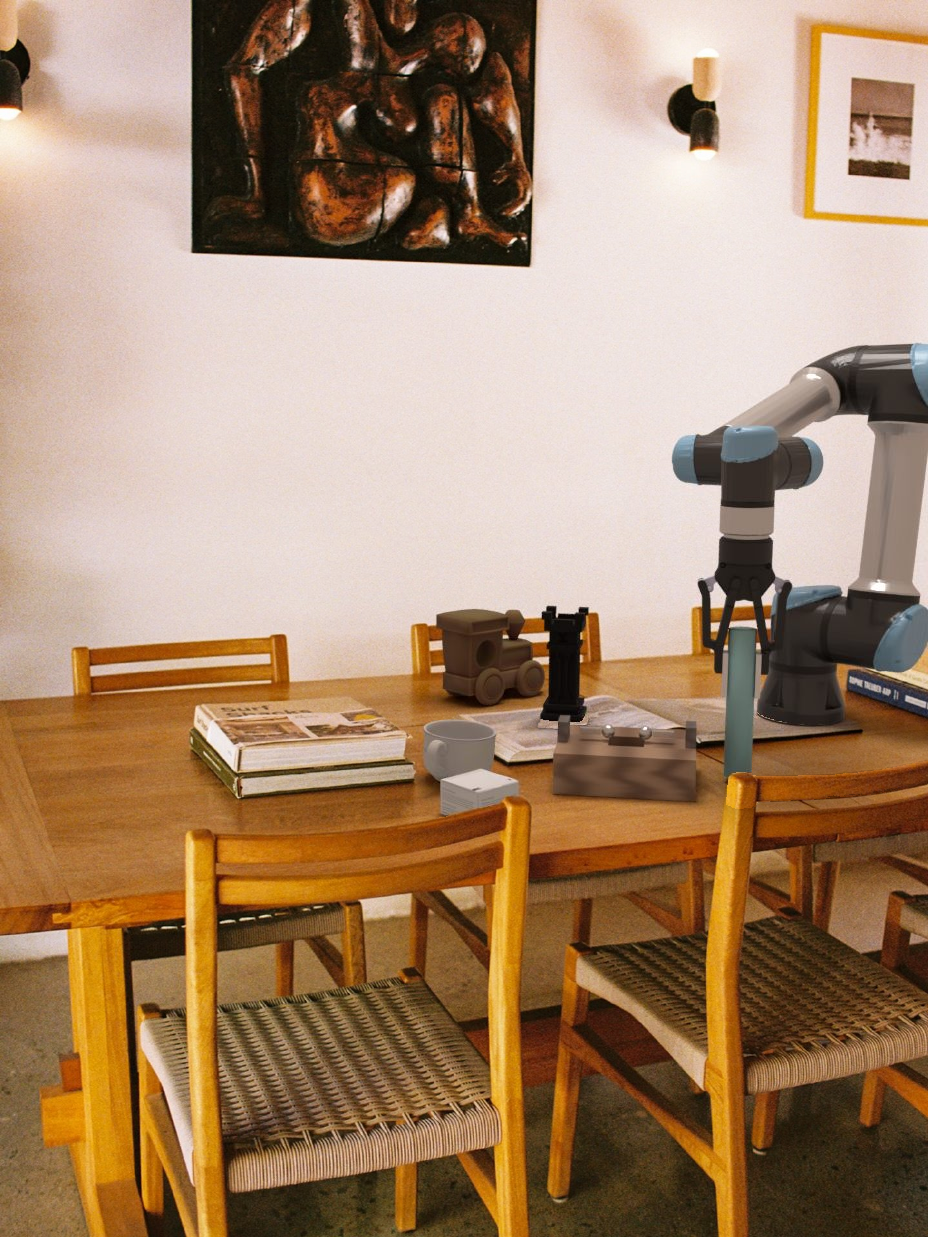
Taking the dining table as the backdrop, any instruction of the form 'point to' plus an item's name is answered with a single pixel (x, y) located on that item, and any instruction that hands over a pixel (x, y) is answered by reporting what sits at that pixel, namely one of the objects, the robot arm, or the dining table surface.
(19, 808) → the dining table surface
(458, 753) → the teacup
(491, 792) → the small box
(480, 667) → the wooden toy train
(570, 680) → the chess piece
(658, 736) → the plunger
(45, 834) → the dining table surface
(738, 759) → the teal peg
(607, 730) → the plunger
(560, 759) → the walnut socket block
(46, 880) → the dining table surface
